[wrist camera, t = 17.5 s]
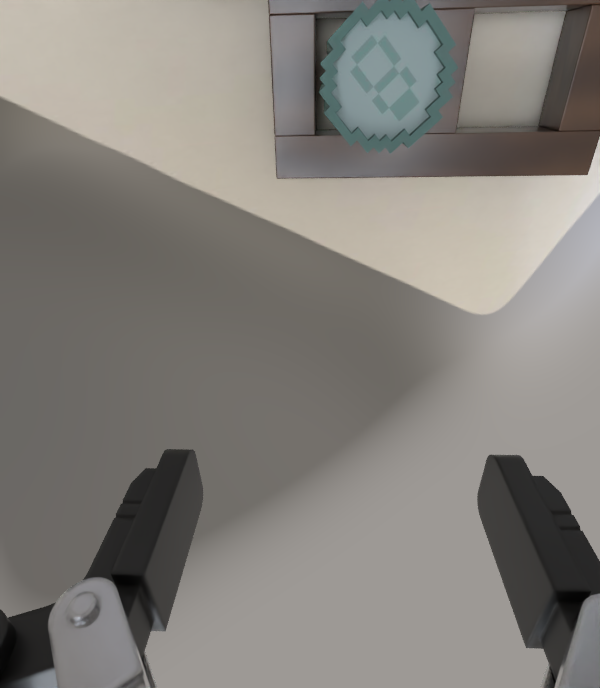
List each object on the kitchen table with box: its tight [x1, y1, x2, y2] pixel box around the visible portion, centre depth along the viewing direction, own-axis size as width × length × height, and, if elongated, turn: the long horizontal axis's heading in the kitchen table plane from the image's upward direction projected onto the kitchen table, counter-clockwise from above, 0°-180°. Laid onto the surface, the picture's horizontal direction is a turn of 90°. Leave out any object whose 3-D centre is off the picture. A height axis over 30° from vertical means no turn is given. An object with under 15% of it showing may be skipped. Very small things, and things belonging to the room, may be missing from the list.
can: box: [319, 0, 458, 154], centre depth 26 cm, size 6×6×15 cm
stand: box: [268, 0, 600, 179], centre depth 31 cm, size 13×23×4 cm, turn 91°
